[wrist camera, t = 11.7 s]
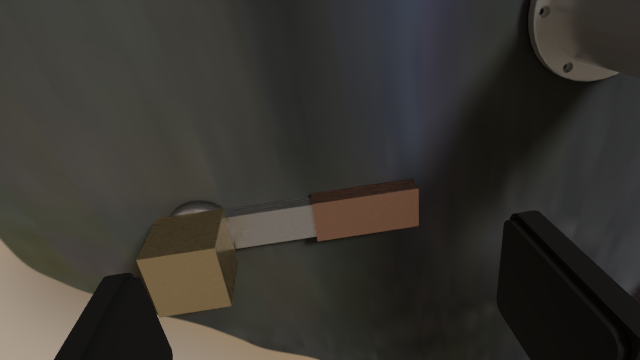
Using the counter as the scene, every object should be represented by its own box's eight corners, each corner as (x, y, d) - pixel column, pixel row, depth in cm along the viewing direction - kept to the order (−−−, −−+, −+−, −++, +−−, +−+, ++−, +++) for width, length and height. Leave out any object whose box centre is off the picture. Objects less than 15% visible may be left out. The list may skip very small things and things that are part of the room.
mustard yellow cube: (223, 208, 36) (214, 248, 31) (237, 260, 39) (231, 305, 33) (157, 218, 36) (136, 260, 30) (175, 270, 38) (159, 317, 33)
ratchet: (412, 168, 38) (432, 196, 33) (412, 224, 41) (430, 257, 36) (159, 206, 37) (141, 240, 33) (178, 259, 40) (164, 298, 35)
